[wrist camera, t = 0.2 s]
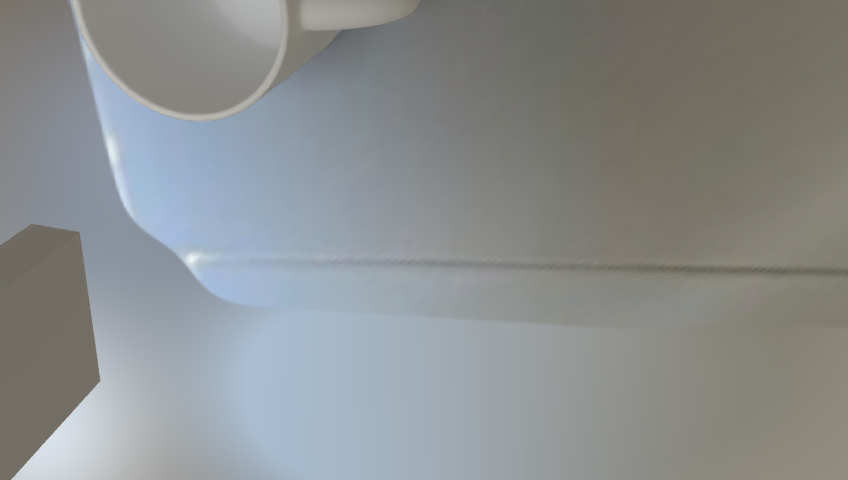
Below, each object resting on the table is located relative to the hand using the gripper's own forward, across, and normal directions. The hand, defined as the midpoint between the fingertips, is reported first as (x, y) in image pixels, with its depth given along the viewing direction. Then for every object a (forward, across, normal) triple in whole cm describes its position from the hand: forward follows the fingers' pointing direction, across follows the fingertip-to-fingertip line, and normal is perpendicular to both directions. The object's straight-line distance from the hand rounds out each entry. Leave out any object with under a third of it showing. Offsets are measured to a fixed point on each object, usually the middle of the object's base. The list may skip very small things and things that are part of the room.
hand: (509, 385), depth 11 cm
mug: (+28, -12, 0) cm, 30 cm away
